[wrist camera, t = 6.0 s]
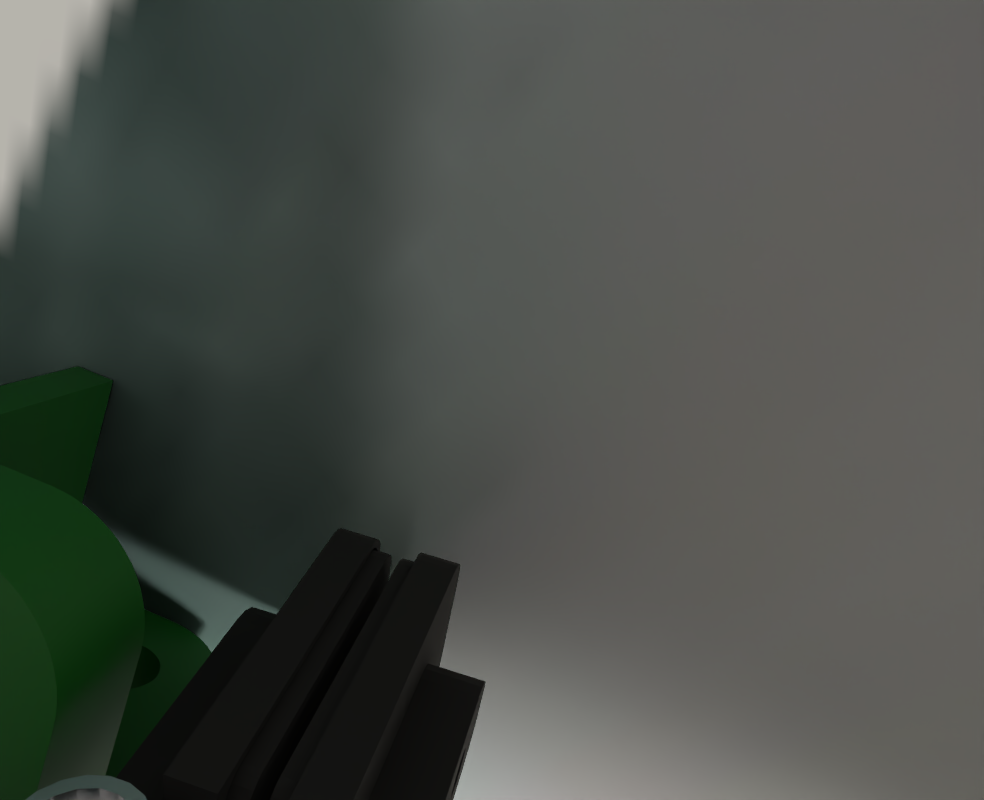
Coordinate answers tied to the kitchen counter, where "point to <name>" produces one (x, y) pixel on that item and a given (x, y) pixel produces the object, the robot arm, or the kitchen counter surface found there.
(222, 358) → the kitchen counter surface
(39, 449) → the clamp
